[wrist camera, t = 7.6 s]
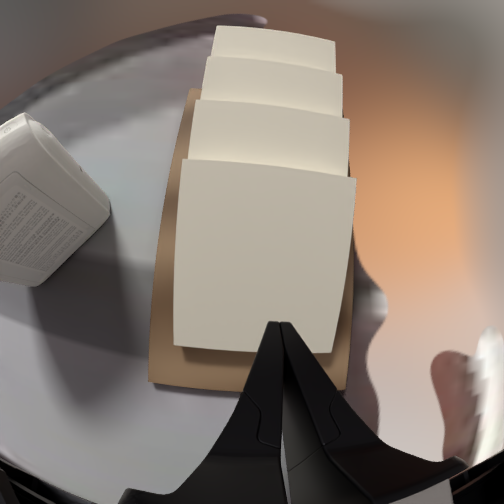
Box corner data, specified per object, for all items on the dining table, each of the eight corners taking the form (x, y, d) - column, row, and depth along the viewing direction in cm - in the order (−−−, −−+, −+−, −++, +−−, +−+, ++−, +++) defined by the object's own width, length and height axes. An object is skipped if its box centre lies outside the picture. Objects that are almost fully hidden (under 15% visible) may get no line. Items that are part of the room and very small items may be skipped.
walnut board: (341, 386, 18) (345, 389, 18) (151, 378, 17) (148, 381, 17) (339, 111, 23) (342, 106, 22) (190, 94, 22) (189, 88, 21)
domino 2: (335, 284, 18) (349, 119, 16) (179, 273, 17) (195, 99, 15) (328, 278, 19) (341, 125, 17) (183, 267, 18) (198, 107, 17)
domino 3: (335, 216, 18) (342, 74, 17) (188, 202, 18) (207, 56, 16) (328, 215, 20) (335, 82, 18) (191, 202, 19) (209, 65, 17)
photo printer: (97, 177, 20) (18, 83, 8) (121, 213, 19) (30, 122, 7) (20, 255, 18) (-82, 218, 6) (38, 295, 18) (-77, 277, 5)
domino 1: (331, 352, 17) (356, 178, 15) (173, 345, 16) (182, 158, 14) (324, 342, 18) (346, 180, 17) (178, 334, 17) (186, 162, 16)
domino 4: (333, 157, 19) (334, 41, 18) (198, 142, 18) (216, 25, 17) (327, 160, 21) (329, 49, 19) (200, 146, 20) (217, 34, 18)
